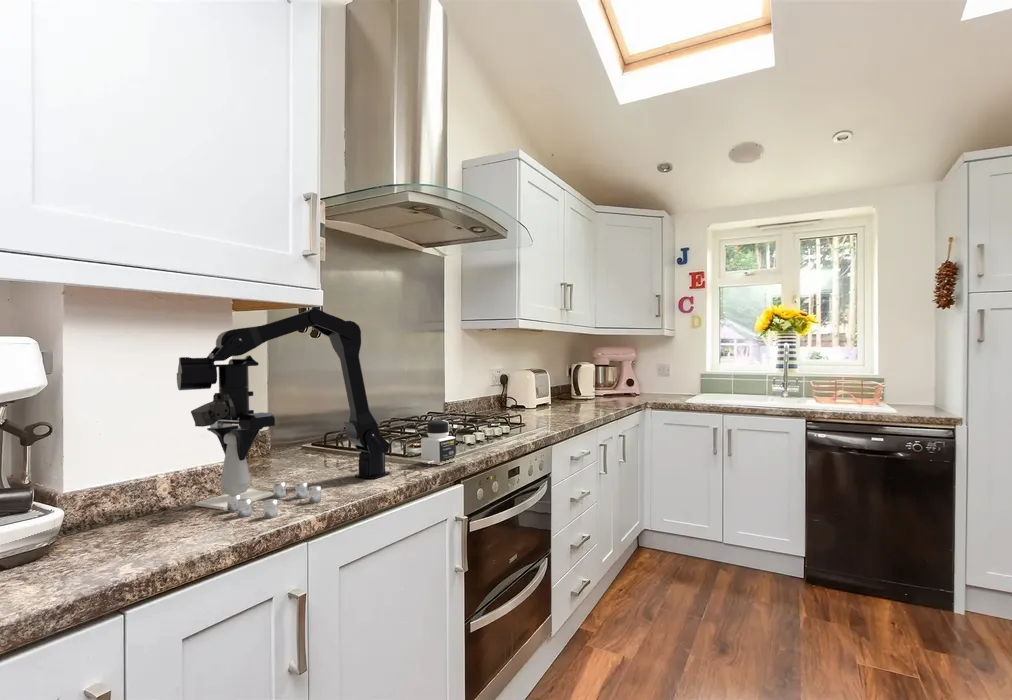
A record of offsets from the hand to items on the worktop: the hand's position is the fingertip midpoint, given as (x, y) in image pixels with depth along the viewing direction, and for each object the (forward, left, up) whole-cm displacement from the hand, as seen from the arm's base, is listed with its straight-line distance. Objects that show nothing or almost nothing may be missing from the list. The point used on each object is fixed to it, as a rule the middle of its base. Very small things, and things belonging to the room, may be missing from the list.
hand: (235, 459), depth 111 cm
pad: (0, 0, -9) cm, 9 cm away
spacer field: (0, +12, -9) cm, 15 cm away
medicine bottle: (-49, +20, -9) cm, 54 cm away
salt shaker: (0, 0, -7) cm, 7 cm away
